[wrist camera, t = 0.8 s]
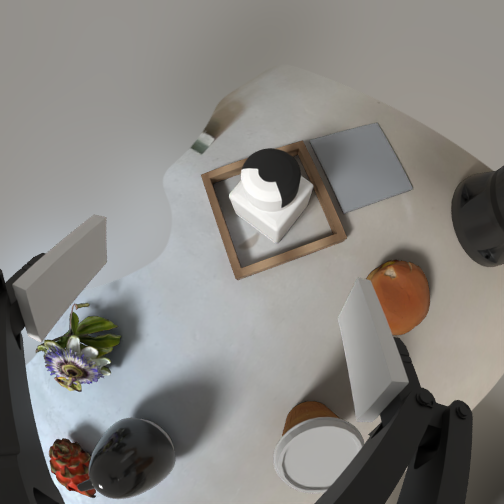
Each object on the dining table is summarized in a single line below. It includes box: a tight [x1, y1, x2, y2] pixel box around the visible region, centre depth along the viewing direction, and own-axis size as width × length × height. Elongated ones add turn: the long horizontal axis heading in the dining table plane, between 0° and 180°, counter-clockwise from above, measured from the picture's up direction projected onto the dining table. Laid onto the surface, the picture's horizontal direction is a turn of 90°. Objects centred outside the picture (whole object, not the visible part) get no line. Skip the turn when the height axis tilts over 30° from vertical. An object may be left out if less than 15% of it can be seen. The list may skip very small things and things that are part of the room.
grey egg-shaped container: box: [77, 418, 175, 499], centre depth 29 cm, size 10×10×15 cm
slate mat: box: [310, 123, 413, 214], centre depth 41 cm, size 12×12×1 cm
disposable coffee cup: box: [273, 401, 364, 494], centre depth 29 cm, size 10×10×12 cm
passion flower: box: [36, 303, 121, 392], centre depth 36 cm, size 11×11×12 cm
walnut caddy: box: [201, 141, 347, 280], centre depth 40 cm, size 15×15×2 cm
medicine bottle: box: [229, 148, 313, 243], centre depth 35 cm, size 7×7×12 cm
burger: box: [366, 260, 430, 335], centre depth 35 cm, size 10×9×5 cm
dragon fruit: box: [49, 438, 96, 498], centre depth 32 cm, size 8×8×12 cm
